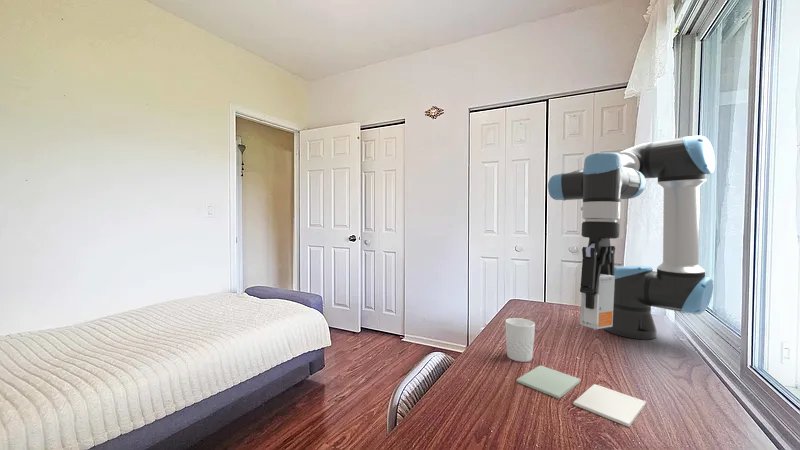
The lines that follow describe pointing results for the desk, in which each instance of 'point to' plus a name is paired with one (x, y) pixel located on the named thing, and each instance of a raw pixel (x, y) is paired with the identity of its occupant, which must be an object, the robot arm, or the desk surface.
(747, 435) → the desk surface
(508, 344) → the white cup
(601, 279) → the skincare box
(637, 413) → the taller pad
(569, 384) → the shorter pad
